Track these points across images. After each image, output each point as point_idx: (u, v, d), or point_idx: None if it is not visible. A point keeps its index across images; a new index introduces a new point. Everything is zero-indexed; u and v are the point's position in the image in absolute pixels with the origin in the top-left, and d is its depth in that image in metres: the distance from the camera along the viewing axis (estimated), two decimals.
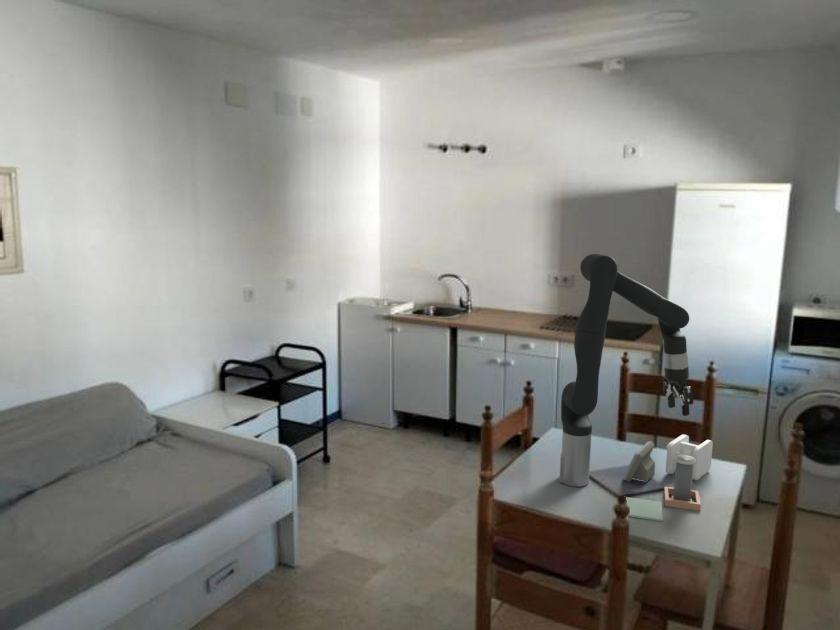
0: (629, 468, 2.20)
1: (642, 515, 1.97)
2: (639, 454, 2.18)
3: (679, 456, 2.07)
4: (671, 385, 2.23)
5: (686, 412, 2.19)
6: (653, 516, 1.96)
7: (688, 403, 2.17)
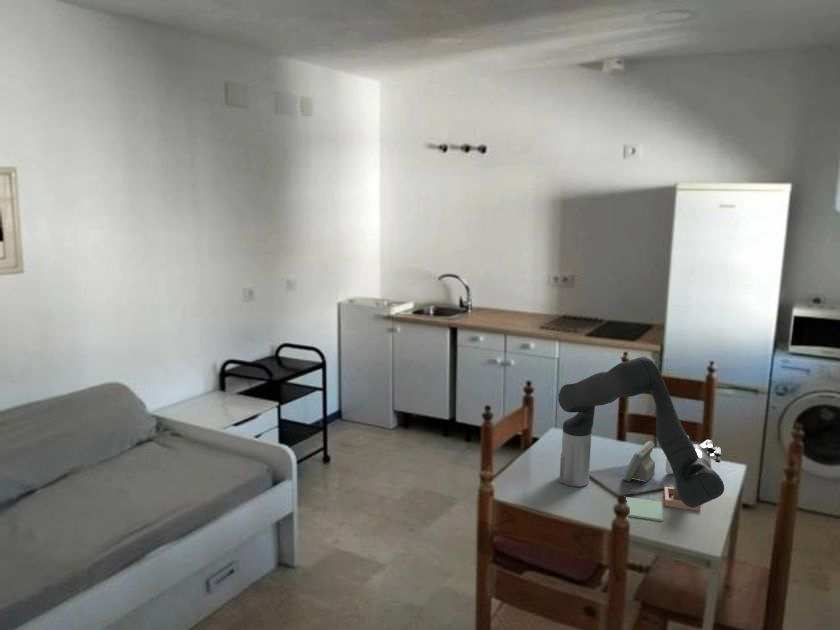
0: (629, 468, 2.20)
1: (642, 515, 1.97)
2: (639, 454, 2.19)
3: None
4: None
5: None
6: (653, 516, 1.96)
7: None
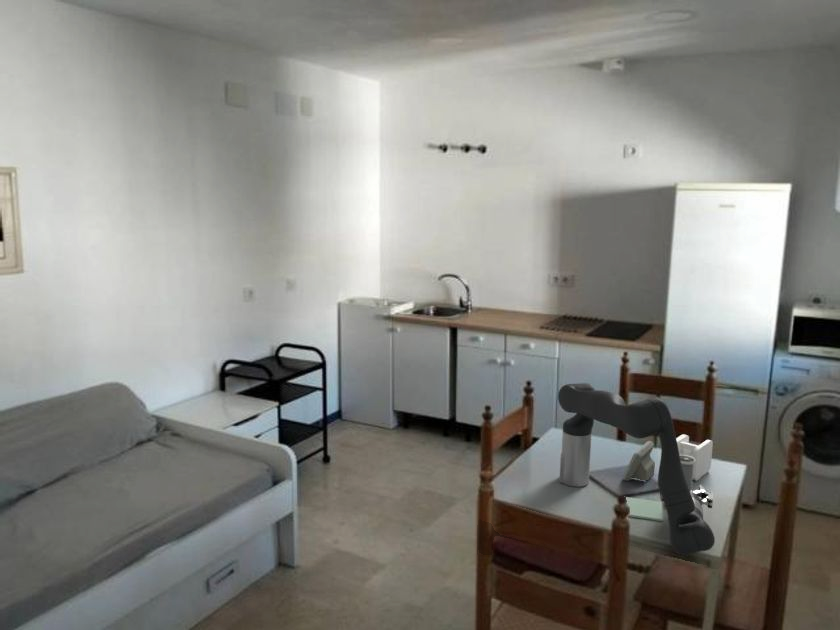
0: (628, 468, 2.20)
1: (642, 515, 1.97)
2: (638, 454, 2.19)
3: None
4: None
5: None
6: (653, 516, 1.96)
7: None
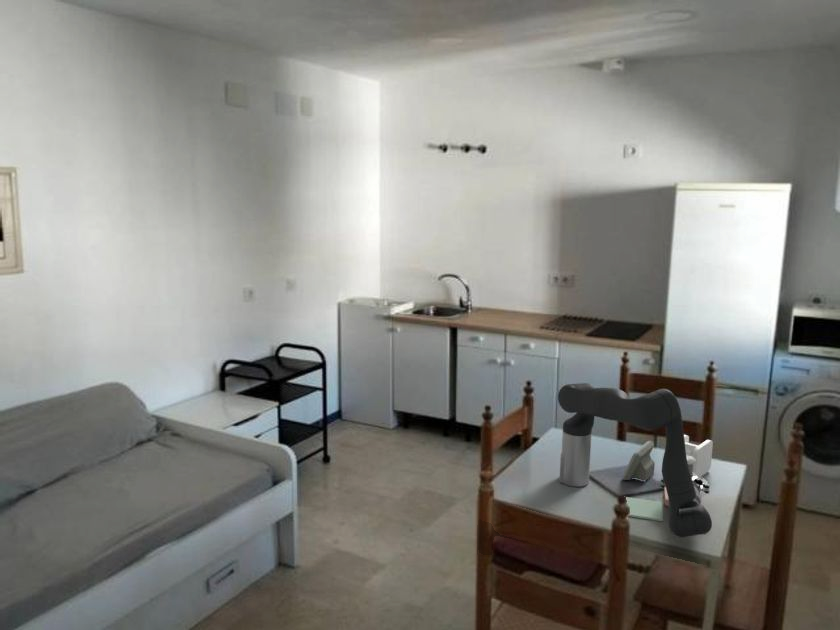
0: (628, 467, 2.21)
1: (642, 515, 1.97)
2: (638, 453, 2.19)
3: None
4: None
5: None
6: (653, 516, 1.96)
7: None
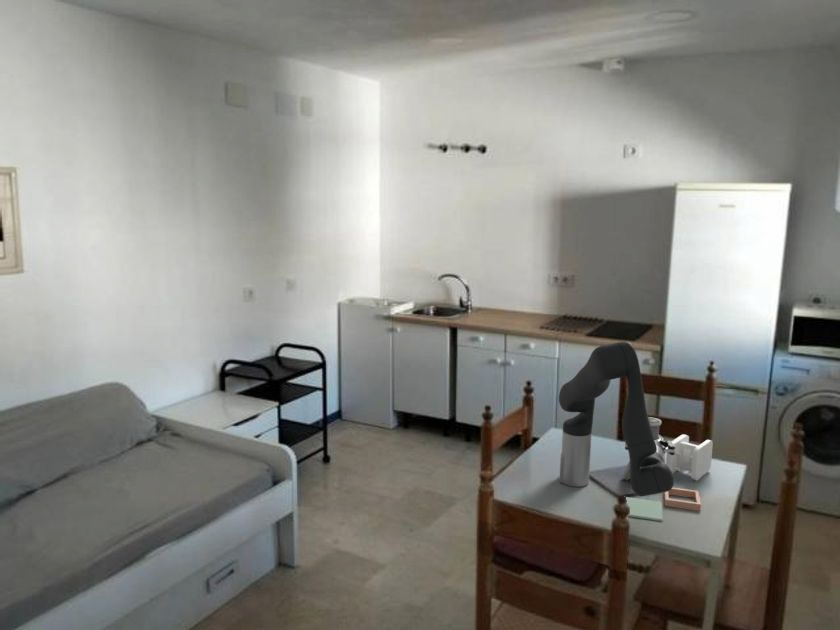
0: (627, 467, 2.21)
1: (642, 515, 1.97)
2: None
3: None
4: None
5: None
6: (653, 516, 1.96)
7: None
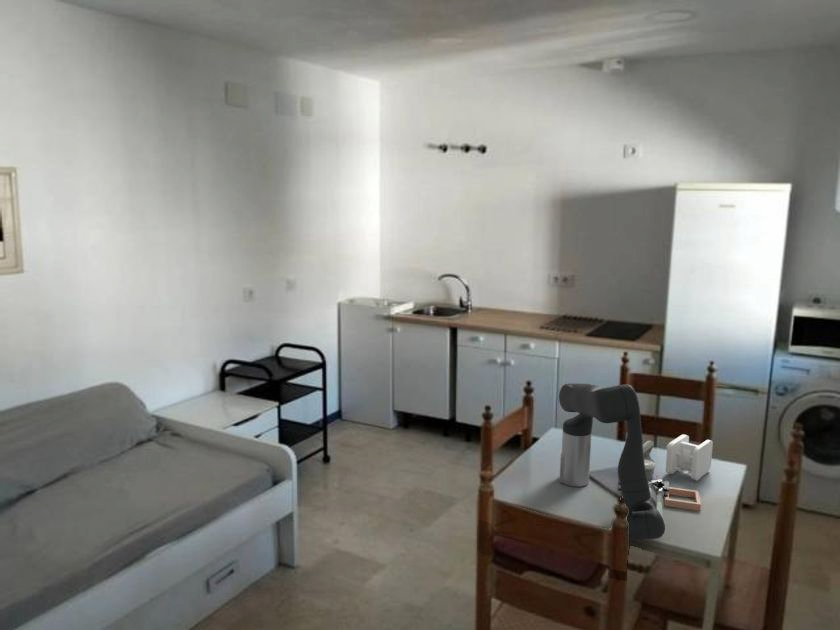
0: None
1: None
2: None
3: None
4: None
5: None
6: None
7: None
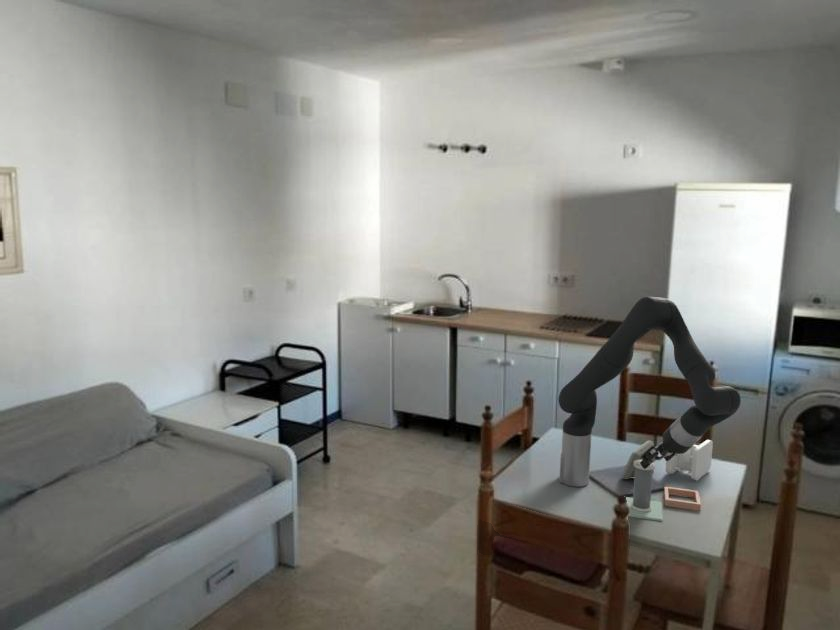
0: (627, 466, 2.21)
1: (642, 515, 1.97)
2: (637, 453, 2.19)
3: (638, 461, 2.01)
4: None
5: (641, 463, 1.88)
6: (653, 516, 1.96)
7: (643, 458, 1.85)
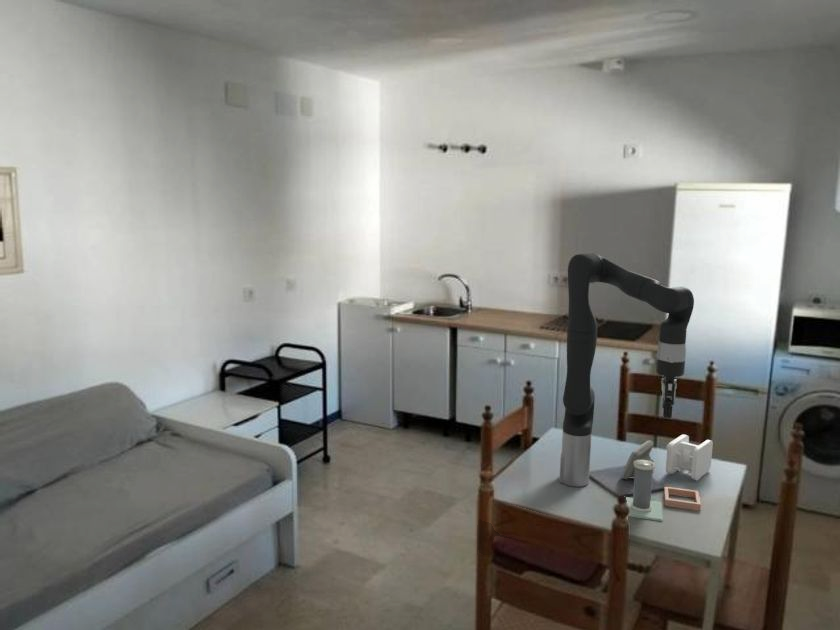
0: (626, 466, 2.22)
1: (642, 515, 1.97)
2: (636, 452, 2.20)
3: (638, 461, 2.01)
4: (663, 380, 1.91)
5: (666, 413, 1.86)
6: (653, 516, 1.96)
7: (667, 402, 1.84)
